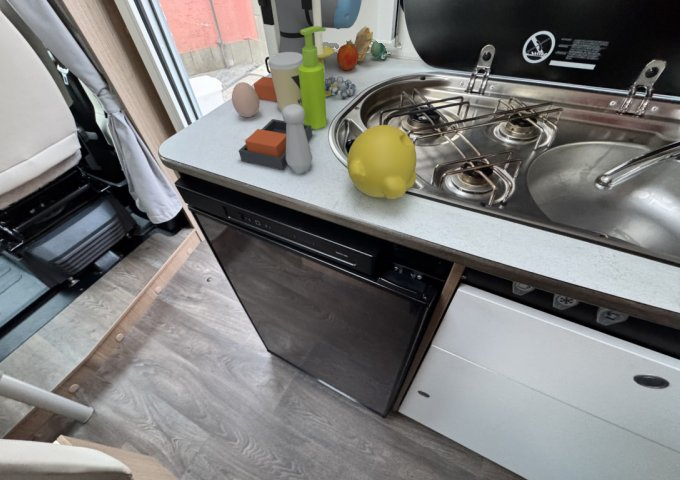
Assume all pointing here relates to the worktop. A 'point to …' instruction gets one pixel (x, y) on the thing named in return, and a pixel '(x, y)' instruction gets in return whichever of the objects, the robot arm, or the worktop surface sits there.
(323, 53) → the yellow disc white stick
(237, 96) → the egg
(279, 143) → the seated pad
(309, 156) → the salt shaker
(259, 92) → the loose pad
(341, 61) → the fruit
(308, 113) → the soap dispenser
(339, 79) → the bracelet
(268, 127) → the pad frame
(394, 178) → the sculpture
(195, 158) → the worktop surface
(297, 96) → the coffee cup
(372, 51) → the cartoon bug character
